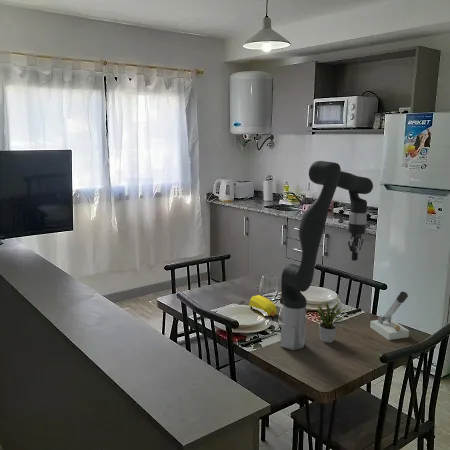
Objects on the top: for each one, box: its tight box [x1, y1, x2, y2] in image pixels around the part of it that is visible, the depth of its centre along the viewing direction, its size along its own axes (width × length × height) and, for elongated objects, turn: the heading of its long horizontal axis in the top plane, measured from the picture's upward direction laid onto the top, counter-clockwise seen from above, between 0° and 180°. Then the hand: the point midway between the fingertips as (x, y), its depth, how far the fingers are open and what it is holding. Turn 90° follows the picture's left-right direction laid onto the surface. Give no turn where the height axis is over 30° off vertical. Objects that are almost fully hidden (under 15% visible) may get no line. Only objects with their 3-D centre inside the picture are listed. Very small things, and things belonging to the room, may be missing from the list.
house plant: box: [315, 300, 349, 343], centre depth 188 cm, size 14×14×16 cm
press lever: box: [382, 291, 409, 322], centre depth 193 cm, size 3×3×19 cm
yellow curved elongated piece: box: [248, 294, 278, 317], centre depth 217 cm, size 18×7×8 cm
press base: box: [369, 315, 410, 341], centre depth 197 cm, size 13×10×6 cm
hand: (354, 260), depth 206 cm, fingers closed
